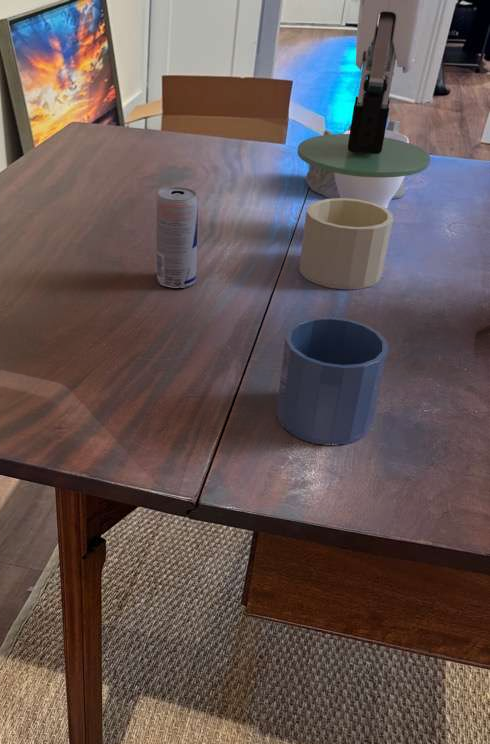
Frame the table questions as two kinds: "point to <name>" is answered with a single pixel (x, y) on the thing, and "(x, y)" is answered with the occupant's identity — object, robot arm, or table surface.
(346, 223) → the tin
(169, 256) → the energy drink
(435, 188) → the table surface
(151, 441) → the table surface
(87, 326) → the table surface
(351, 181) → the cup
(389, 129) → the ceramic cottage
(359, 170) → the tin lid
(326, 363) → the tumbler
